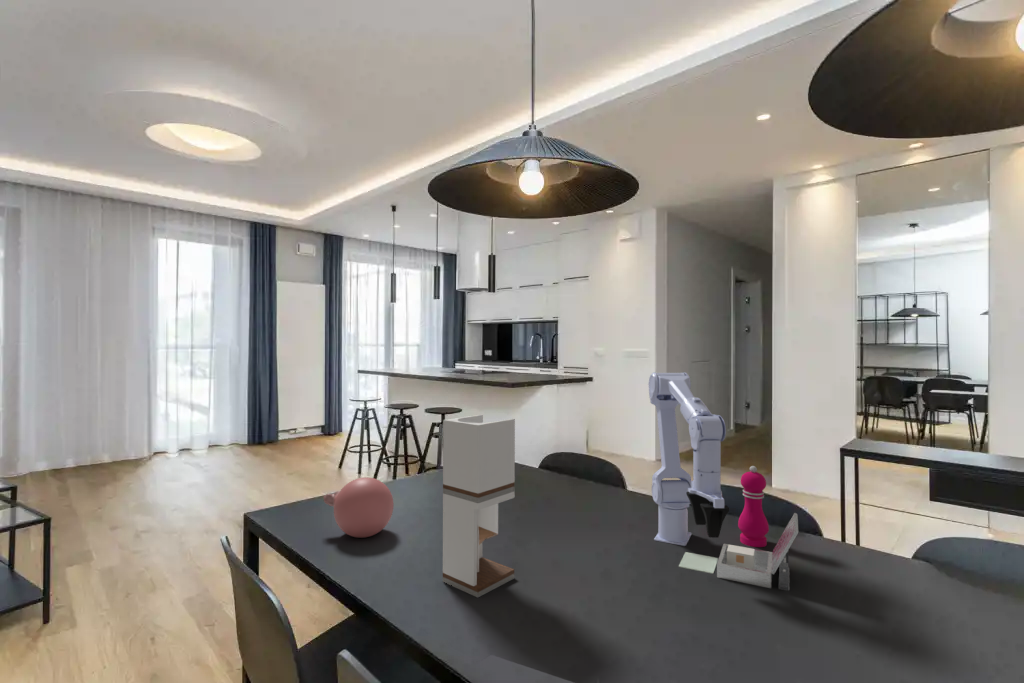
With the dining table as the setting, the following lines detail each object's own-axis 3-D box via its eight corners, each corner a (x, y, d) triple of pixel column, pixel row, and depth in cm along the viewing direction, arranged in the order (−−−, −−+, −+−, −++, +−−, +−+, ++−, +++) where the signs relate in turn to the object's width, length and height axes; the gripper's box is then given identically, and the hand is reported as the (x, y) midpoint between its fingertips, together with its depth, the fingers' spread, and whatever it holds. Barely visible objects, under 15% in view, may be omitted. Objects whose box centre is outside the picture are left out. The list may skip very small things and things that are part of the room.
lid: (794, 512, 117) (797, 514, 116) (772, 550, 119) (775, 552, 118) (795, 530, 105) (798, 532, 105) (770, 572, 107) (773, 574, 107)
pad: (685, 553, 125) (685, 551, 125) (718, 559, 122) (718, 558, 122) (678, 567, 118) (678, 565, 118) (713, 574, 114) (713, 572, 114)
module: (728, 563, 119) (728, 544, 119) (754, 568, 116) (754, 548, 116) (726, 570, 115) (726, 550, 115) (753, 576, 113) (753, 555, 113)
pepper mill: (772, 549, 128) (772, 470, 128) (741, 547, 129) (741, 468, 130) (764, 539, 135) (764, 463, 135) (735, 536, 137) (735, 462, 137)
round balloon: (342, 521, 148) (342, 468, 148) (403, 528, 142) (404, 473, 142) (306, 541, 133) (306, 481, 133) (373, 550, 127) (373, 488, 127)
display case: (477, 598, 103) (478, 425, 103) (442, 582, 110) (443, 420, 110) (514, 578, 112) (514, 419, 112) (479, 564, 119) (480, 414, 119)
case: (723, 556, 124) (723, 536, 124) (789, 569, 117) (789, 547, 117) (717, 578, 112) (717, 555, 112) (789, 593, 106) (789, 569, 106)
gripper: (678, 461, 121) (678, 519, 121) (700, 478, 107) (700, 542, 107) (708, 462, 121) (708, 519, 121) (734, 478, 107) (734, 543, 107)
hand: (706, 530), depth 114 cm, fingers open, 7 cm apart
